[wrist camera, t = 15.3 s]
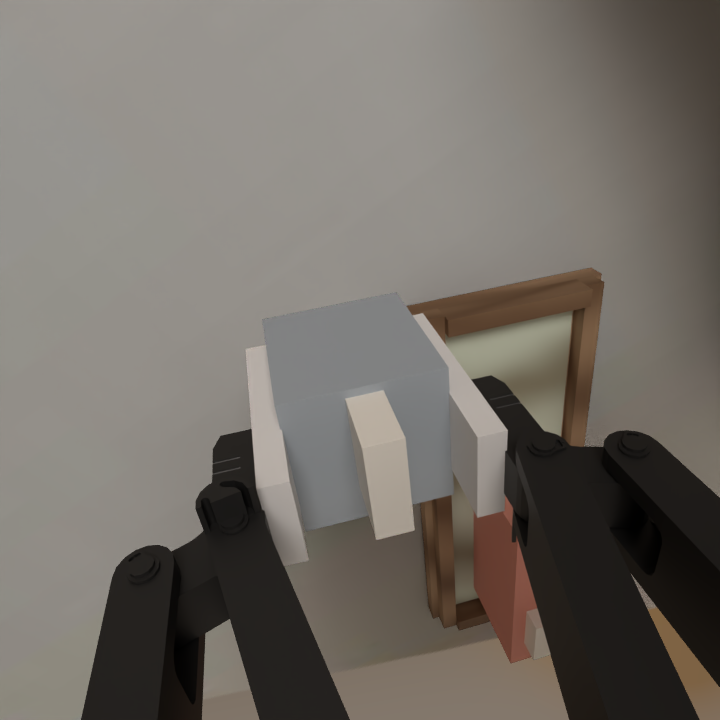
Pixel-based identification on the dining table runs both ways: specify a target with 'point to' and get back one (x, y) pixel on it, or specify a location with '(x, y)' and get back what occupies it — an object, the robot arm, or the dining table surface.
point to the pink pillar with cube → (506, 587)
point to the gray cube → (361, 412)
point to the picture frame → (527, 382)
